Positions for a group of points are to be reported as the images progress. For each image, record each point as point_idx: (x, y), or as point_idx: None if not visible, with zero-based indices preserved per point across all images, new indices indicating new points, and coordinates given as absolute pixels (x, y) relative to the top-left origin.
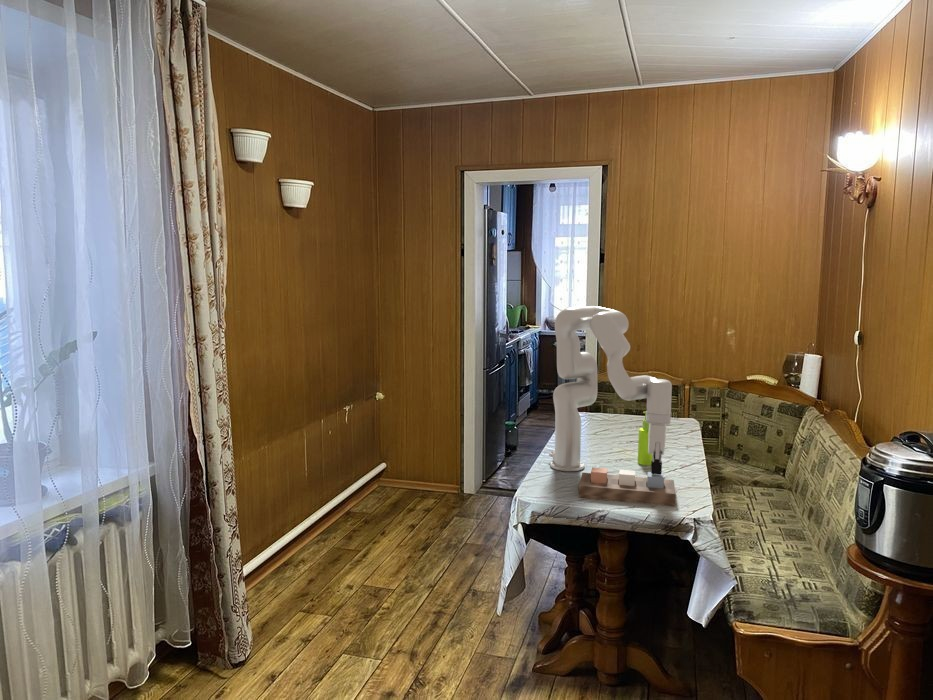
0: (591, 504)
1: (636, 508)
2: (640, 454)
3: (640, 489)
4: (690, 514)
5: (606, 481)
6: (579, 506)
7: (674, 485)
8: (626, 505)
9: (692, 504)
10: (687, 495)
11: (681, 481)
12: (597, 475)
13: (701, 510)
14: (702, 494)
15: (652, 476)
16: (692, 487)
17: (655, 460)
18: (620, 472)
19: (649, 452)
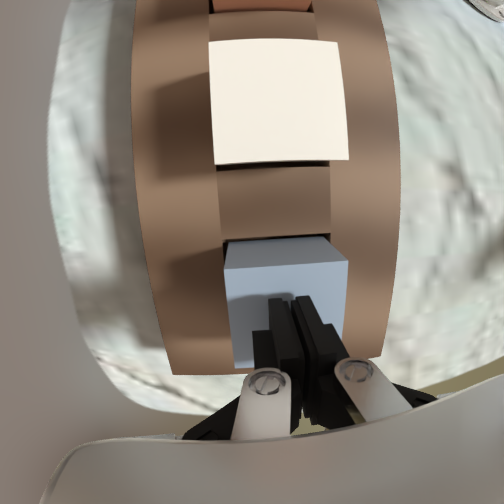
0: (93, 26)
1: (94, 194)
2: None
3: (163, 208)
4: (131, 377)
5: (240, 5)
6: (70, 7)
7: None
8: (112, 147)
9: (232, 388)
10: None
11: (456, 333)
12: None
13: (185, 405)
14: None
15: (236, 301)
16: (407, 371)
17: (218, 418)
18: (257, 46)
19: (62, 461)
